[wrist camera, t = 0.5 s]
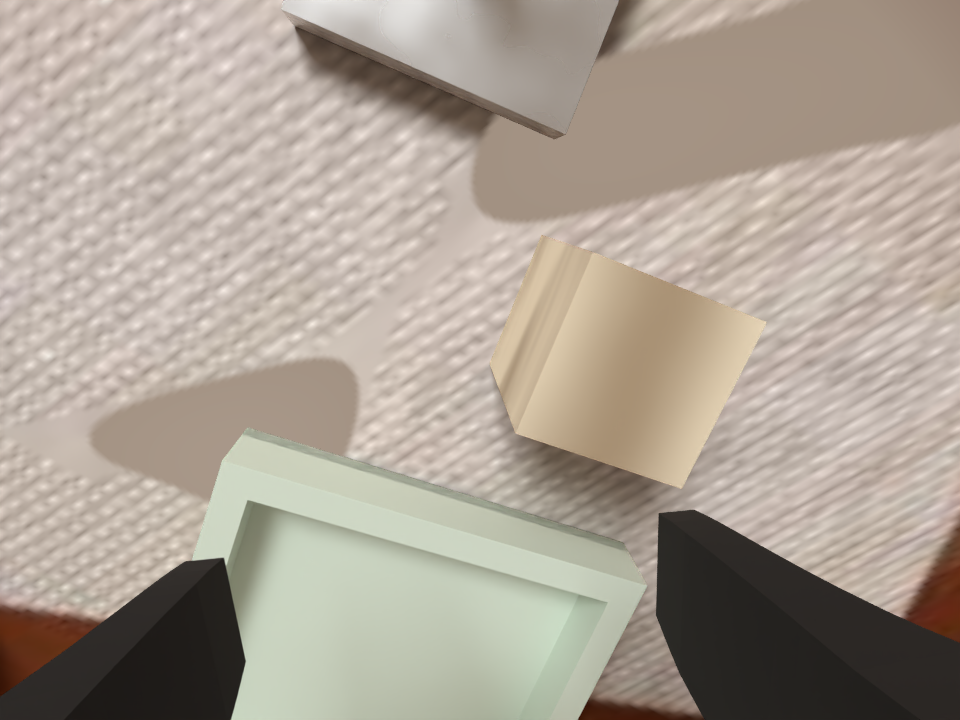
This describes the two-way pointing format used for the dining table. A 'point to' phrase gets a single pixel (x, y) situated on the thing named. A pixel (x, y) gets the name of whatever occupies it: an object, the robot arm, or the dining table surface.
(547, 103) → the silver peg base
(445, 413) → the dining table surface
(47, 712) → the robot arm
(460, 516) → the tray
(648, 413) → the birch block
